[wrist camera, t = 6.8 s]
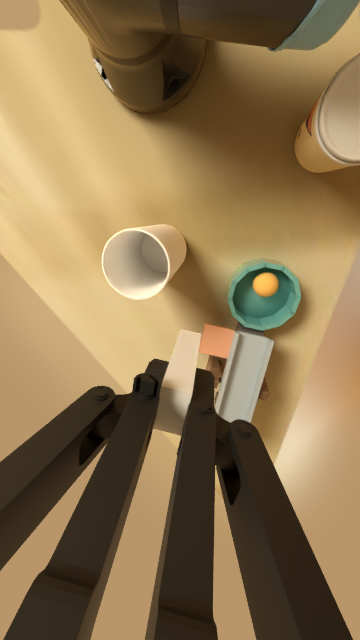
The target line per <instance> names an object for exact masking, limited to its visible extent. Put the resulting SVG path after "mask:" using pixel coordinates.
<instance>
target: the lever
mask: <svg viewBox="0 0 360 640" xmlns="http://www.w3.org/2000/svg"><path fill="white" fill-rule="evenodd" d="M273 345H274V341H273V340H272V339H269V338H267V337H265V336H260V335H256V334H252V333H247V332H243V331H238V330H237V331H235V330H234V329H230V328H225V327H221V326H217V325H212V324H208V323H205V325H204V330H203V334H202V338H201V342H200V347H199V352H201V353H205V354H209V355H213V356H218V357H222V358H226V359H227V362H226V366H225V369H224V373H223V377H219V382H220V383H221V385H220V389H219V393H218V396H217V400H216V404H215V410H216V413H217V414H218V415H219V416H220V417H221V418H223V419H225V420H226V421H228V422H230V423H231V422H232V421H234V420H237V419H241V420H246V421H248V422H250V423H251V420H252V416H253V413H254V409H255V406H256V403H257V399H258V396H259V392H260V389H261V386H262V382H263V379H264V375H265V372H266V369H267V365H268V362H269V358H270V355H271V352H272V348H273Z"/></svg>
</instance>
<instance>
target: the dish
mask: <svg viewBox="0 0 360 640" xmlns="http://www.w3.org/2000/svg"><path fill="white" fill-rule="evenodd" d="M263 272H270V273H272V274H274V275H275V276H276V277H277V279H278V281H279V286H278V289H277V291H276V292H275V293H274V294H273V295H271V296H268V297H262V296H259V295H258V294H256V292H255V291H254V289H253V281H254V279H255V277H256V276H257V275H259V274H260V273H263ZM227 300H228V303H229V307H230V310H231V313H232V316H233V317H234V318H236V319H237V320H238V321H239V322H240V323H241V324H242V325H243V326H244V327H248V328H253V329H257V330H261V331H263V330H267V329H271V328H275V327H279V326H281V325H282V324H283V323H285V322H286V321H287V320H288V319H289V318H291V317H292V316H293V315H294V314H295V312H296V310H297V307H298V305H299V302H300V300H301V292H300V287H299V282H298V279H297V278H296V277H295V276H294V275H293V274H292V273H291V272H290V271H289V270H288V269H287V268H286V267H285V266H284V265H283V264H281V263H280V262H278V261H273V260H268V259H263V258H259V259H256V260H253V261H250V262H247V263H243V265H242V266H241V267H240V268H239V269H238V270H237V271H236V272H235V273H234V274H233V275H232V276H231V278H230V282H229V285H228V289H227Z"/></svg>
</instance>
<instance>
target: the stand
mask: <svg viewBox="0 0 360 640" xmlns="http://www.w3.org/2000/svg"><path fill="white" fill-rule="evenodd" d="M237 330H238V331H243V332H247V333H252V334H256V335H260V336H264V332H263V331H261V330H257V329H253V328H248V327H244V326H243V325H242V324H241V323H240V322H239V321H238V324H237V328H236V331H237ZM269 359H270V358H269ZM226 362H227V359H226V358H222V357H218V356H213V355H209V359H208V363H207V367H206V370H207V371H211V372H212V374H213V375H214V377H215V381H214V388H217V386H218V383H219V377H223V373H224V369H225V366H226ZM218 393H219V392H217V393H216V396H215V404H216V400H217V396H218ZM268 395H269V390H268V387H267V383H266V380H265V376H264V379H263V382H262V386H261V389H260V392H259V396H258V399H262V400H267V398H268ZM214 408H215V406H214Z"/></svg>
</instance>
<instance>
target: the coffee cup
mask: <svg viewBox="0 0 360 640" xmlns="http://www.w3.org/2000/svg"><path fill="white" fill-rule="evenodd" d="M295 155H296V158H297V160H298V162H299V164H300V165H301V166H302V167H303V168H304V169H306V170H308V171H310V172H314V173H323V172H328V171H333V170H337V169H342V168H346V167H350V166H357V165H360V54H358V55H357V56H355V57H353V58H352V59H351V60H349V61H348V62H347V63H345V64H344V65H343V66H342V67H341V68H340V69H339V70H338V71H337V72H336V73H335V74H334V76H333V77H332V78H331V80H330V81H329V83H328V84H327V86H326V87H325V89H324V91H323V93H322V95H321V96H320V98H319V99H318V101H317V102H316V104H315V105H314V107H313V108H312V110H311V111H310V113H309V114H308V116H307V117H306V119H305V120H304V122H303V123H302V125H301V127H300V129H299V131H298V133H297V136H296V140H295Z"/></svg>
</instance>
